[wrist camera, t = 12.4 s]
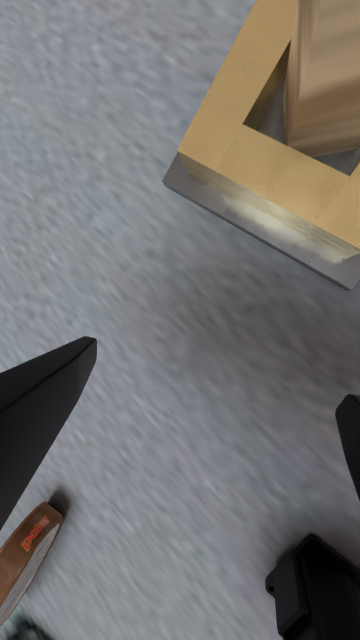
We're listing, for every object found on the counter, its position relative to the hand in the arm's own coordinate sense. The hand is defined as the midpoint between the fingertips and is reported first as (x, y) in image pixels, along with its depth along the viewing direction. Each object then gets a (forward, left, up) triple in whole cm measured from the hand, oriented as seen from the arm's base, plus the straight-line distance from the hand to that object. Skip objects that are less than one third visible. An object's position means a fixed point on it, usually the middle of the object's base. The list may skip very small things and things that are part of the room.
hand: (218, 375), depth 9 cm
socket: (+3, -15, -12) cm, 19 cm away
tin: (+4, +31, -12) cm, 34 cm away
